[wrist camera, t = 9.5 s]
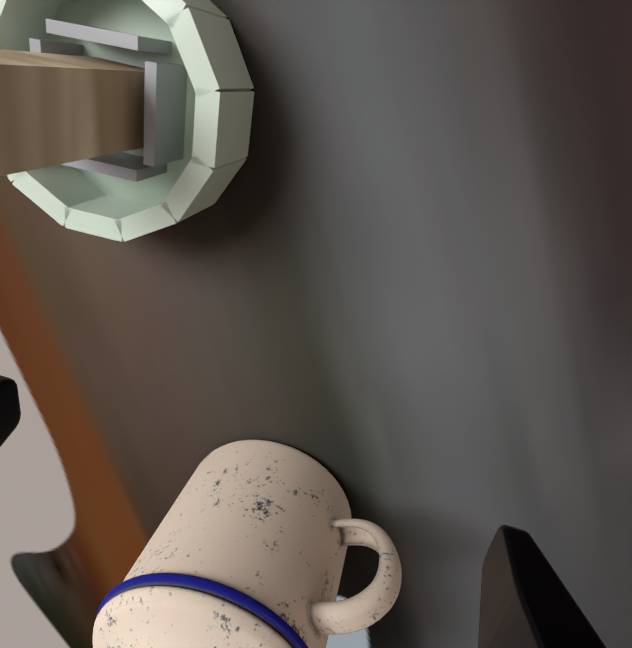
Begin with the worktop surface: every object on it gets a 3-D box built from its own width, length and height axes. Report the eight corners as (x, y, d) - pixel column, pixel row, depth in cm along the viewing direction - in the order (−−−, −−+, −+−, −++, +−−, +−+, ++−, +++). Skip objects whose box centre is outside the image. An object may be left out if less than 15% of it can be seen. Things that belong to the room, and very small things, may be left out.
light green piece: (266, -18, 17) (230, -38, 14) (238, 239, 21) (206, 263, 18) (26, -59, 18) (-51, -85, 15) (44, 192, 22) (-14, 208, 20)
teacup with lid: (235, 574, 30) (125, 829, 20) (162, 450, 27) (-12, 672, 17) (437, 551, 26) (431, 862, 15) (375, 401, 23) (317, 658, 13)
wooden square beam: (162, 72, 18) (-16, 63, 11) (158, 144, 19) (-6, 177, 12) (98, 57, 19) (-114, 39, 12) (98, 129, 20) (-96, 152, 13)
